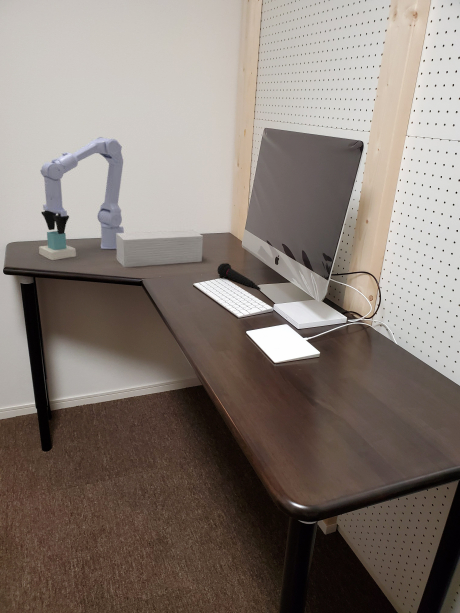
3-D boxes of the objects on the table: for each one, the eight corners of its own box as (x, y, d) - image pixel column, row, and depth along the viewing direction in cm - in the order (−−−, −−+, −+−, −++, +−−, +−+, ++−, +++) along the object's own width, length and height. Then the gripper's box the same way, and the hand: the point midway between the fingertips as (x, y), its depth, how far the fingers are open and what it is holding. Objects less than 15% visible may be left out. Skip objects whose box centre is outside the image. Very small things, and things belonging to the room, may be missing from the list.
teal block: (60, 245, 183) (58, 230, 181) (66, 248, 180) (65, 233, 178) (48, 247, 180) (46, 232, 178) (54, 250, 177) (53, 234, 175)
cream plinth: (63, 250, 188) (62, 243, 187) (75, 256, 182) (75, 248, 180) (39, 254, 181) (38, 246, 180) (51, 260, 175) (51, 252, 174)
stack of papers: (191, 254, 196) (192, 229, 192) (201, 261, 187) (202, 235, 183) (116, 260, 182) (116, 233, 178) (124, 267, 173) (123, 239, 169)
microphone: (261, 297, 163) (221, 275, 174) (267, 282, 161) (226, 261, 173) (252, 295, 158) (212, 273, 169) (258, 280, 157) (217, 259, 168)
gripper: (34, 193, 175) (37, 229, 180) (53, 199, 166) (55, 236, 171) (52, 192, 180) (54, 227, 185) (71, 198, 171) (73, 234, 176)
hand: (56, 231), depth 178 cm, fingers open, 7 cm apart
